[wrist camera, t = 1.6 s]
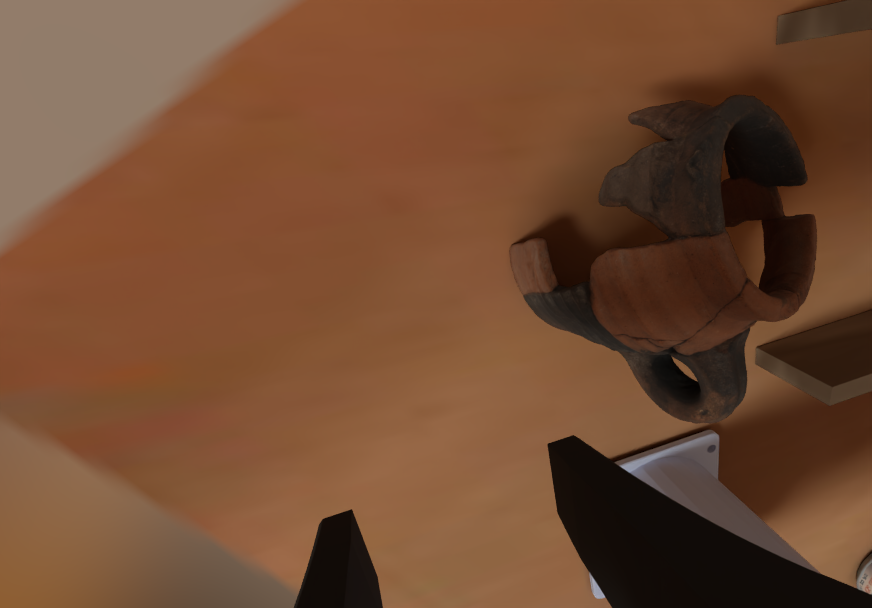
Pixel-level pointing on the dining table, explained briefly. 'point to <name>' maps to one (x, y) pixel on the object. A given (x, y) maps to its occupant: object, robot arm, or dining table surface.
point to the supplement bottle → (865, 575)
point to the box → (848, 338)
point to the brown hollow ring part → (688, 255)
